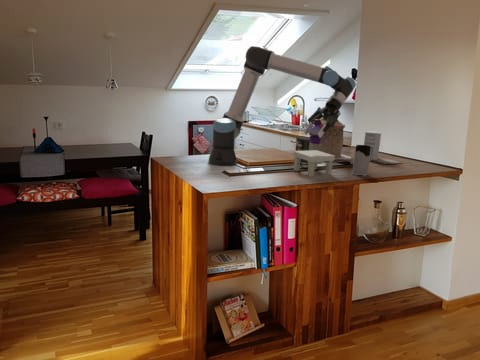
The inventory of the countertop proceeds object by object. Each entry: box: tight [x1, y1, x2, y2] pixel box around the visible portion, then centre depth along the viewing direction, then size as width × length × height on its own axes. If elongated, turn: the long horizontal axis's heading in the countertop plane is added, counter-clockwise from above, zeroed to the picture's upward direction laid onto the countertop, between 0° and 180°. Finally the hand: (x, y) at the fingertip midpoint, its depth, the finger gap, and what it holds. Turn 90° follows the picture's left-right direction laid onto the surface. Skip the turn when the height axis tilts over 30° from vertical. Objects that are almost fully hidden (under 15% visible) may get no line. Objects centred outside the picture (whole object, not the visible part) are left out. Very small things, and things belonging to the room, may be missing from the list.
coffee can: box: [294, 136, 314, 165], centre depth 260 cm, size 10×10×14 cm
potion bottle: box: [308, 119, 324, 144], centre depth 233 cm, size 9×9×12 cm
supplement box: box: [363, 130, 382, 161], centre depth 284 cm, size 10×9×17 cm
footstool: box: [292, 150, 336, 177], centre depth 237 cm, size 15×15×10 cm
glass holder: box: [351, 144, 373, 176], centre depth 241 cm, size 9×14×15 cm, turn 135°
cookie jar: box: [312, 115, 352, 161], centre depth 280 cm, size 25×25×32 cm
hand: (312, 134), depth 231 cm, fingers closed on potion bottle, 8 cm apart
